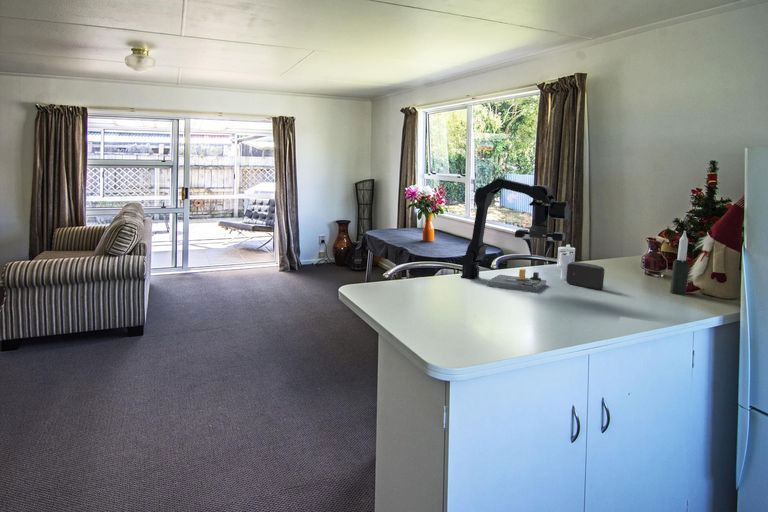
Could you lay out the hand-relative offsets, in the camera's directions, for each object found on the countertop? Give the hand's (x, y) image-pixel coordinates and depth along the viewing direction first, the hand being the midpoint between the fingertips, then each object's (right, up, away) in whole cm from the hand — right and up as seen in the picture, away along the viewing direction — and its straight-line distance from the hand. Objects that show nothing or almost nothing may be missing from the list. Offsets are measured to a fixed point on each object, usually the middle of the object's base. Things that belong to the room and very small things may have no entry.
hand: (538, 256), depth 214 cm
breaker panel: (-7, -12, +6) cm, 15 cm away
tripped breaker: (-5, -10, +5) cm, 12 cm away
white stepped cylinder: (+17, -10, +21) cm, 29 cm away
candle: (+55, -15, -2) cm, 57 cm away
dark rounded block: (+21, -13, +6) cm, 25 cm away
